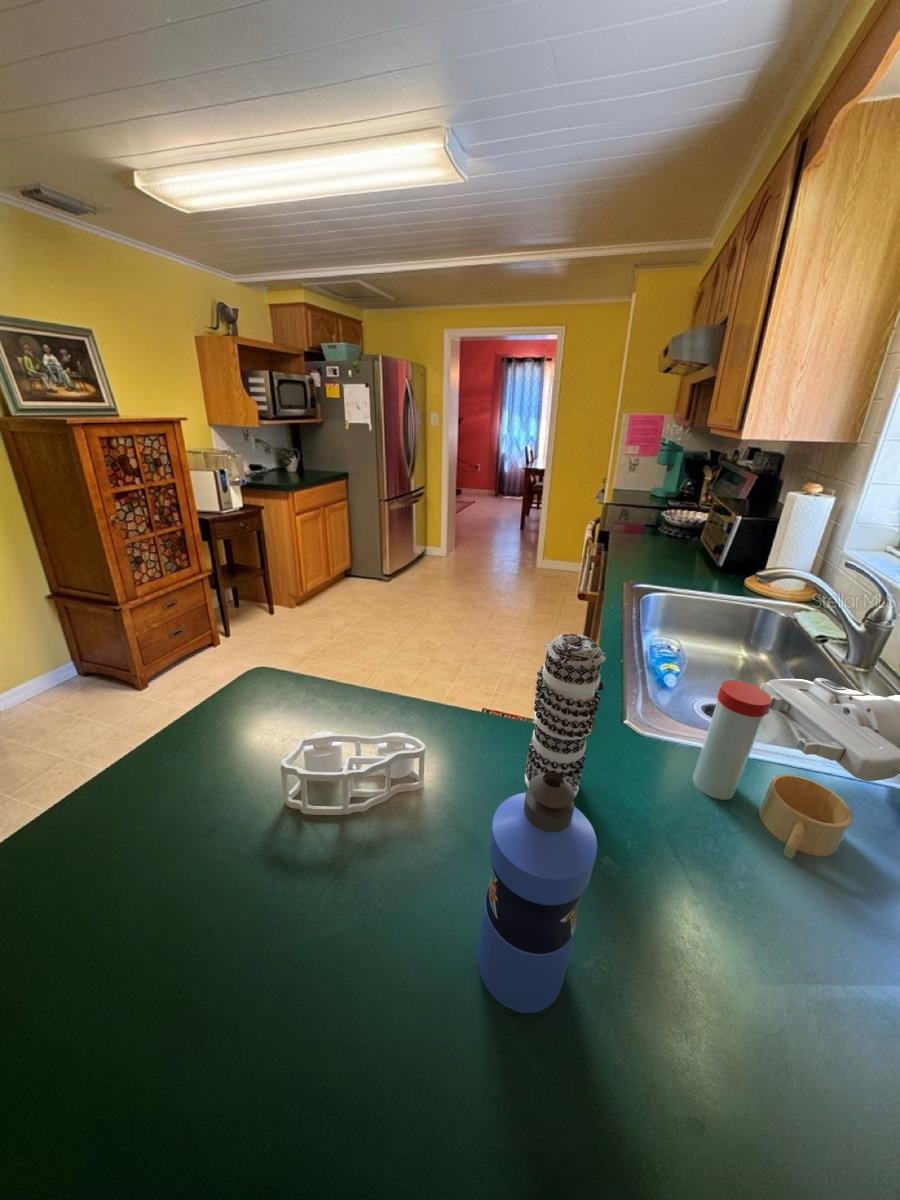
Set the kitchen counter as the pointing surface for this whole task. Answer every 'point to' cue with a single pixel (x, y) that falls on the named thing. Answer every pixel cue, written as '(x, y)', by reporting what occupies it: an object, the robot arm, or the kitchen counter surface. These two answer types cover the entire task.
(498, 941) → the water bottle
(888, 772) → the robot arm
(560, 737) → the decorative candle
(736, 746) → the jar
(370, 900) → the kitchen counter surface
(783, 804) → the mug
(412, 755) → the white open frame caddy
